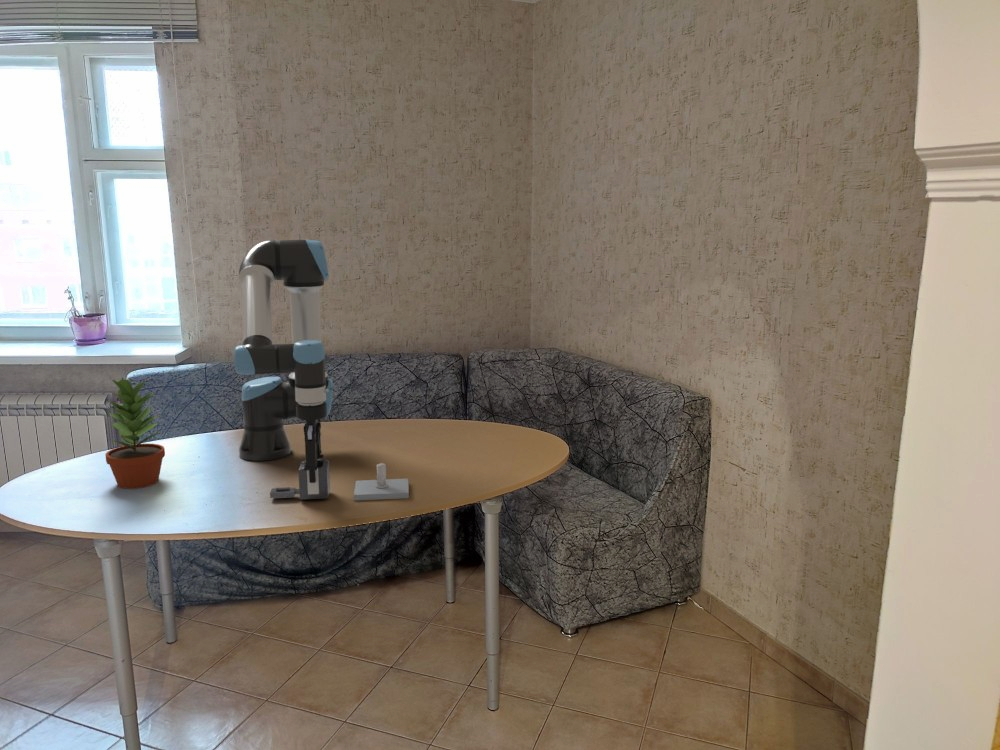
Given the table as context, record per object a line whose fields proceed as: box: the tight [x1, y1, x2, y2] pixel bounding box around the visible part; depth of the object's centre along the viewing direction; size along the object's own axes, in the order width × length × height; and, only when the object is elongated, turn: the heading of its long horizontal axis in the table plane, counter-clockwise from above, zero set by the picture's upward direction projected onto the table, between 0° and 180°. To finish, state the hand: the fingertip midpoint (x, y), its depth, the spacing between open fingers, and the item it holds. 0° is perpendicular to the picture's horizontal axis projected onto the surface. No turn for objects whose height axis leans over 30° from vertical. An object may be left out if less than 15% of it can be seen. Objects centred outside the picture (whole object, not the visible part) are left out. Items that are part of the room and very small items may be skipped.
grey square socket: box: [269, 459, 331, 500], centre depth 195 cm, size 15×7×8 cm, turn 98°
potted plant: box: [105, 376, 166, 490], centre depth 204 cm, size 15×15×30 cm
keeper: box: [353, 462, 410, 501], centre depth 200 cm, size 14×11×8 cm
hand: (315, 488), depth 196 cm, fingers closed on grey square socket, 7 cm apart
